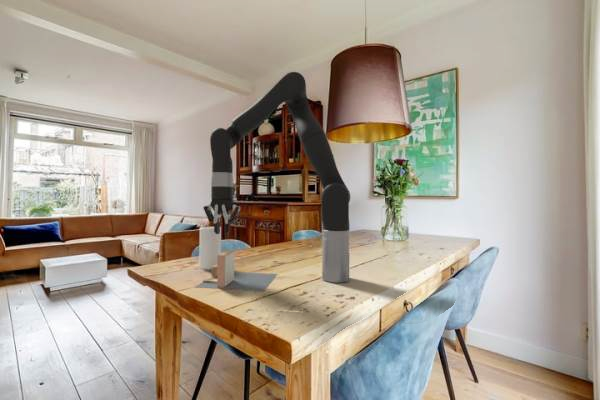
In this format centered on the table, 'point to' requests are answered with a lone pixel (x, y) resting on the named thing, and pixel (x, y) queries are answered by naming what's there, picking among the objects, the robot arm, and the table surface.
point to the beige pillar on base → (214, 276)
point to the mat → (245, 282)
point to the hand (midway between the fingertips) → (222, 233)
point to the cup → (209, 247)
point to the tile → (225, 268)
